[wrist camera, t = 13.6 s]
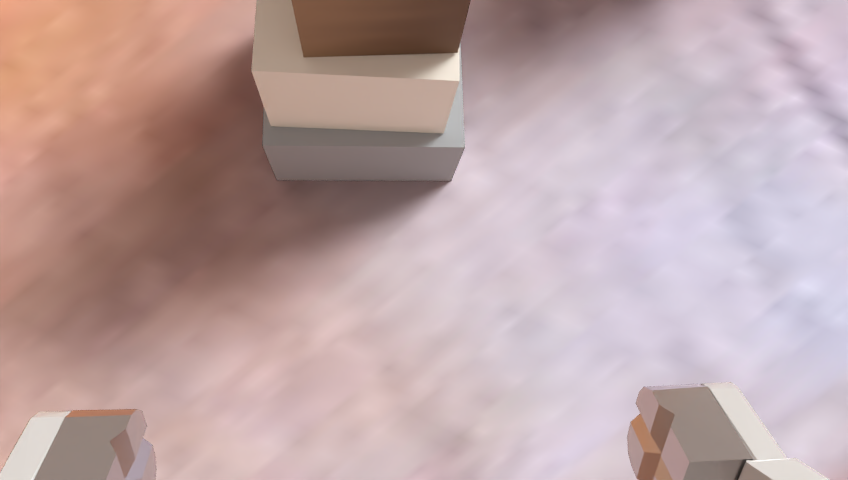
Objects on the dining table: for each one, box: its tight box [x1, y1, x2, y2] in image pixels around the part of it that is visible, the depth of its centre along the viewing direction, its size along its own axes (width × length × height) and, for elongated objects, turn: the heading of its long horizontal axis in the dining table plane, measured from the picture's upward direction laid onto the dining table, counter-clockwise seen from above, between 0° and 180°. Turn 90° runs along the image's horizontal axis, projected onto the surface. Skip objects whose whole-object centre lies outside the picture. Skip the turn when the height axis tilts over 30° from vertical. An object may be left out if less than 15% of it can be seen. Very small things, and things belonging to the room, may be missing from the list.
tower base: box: [262, 41, 465, 181], centre depth 25 cm, size 7×7×4 cm
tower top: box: [251, 0, 460, 134], centre depth 22 cm, size 6×6×4 cm
